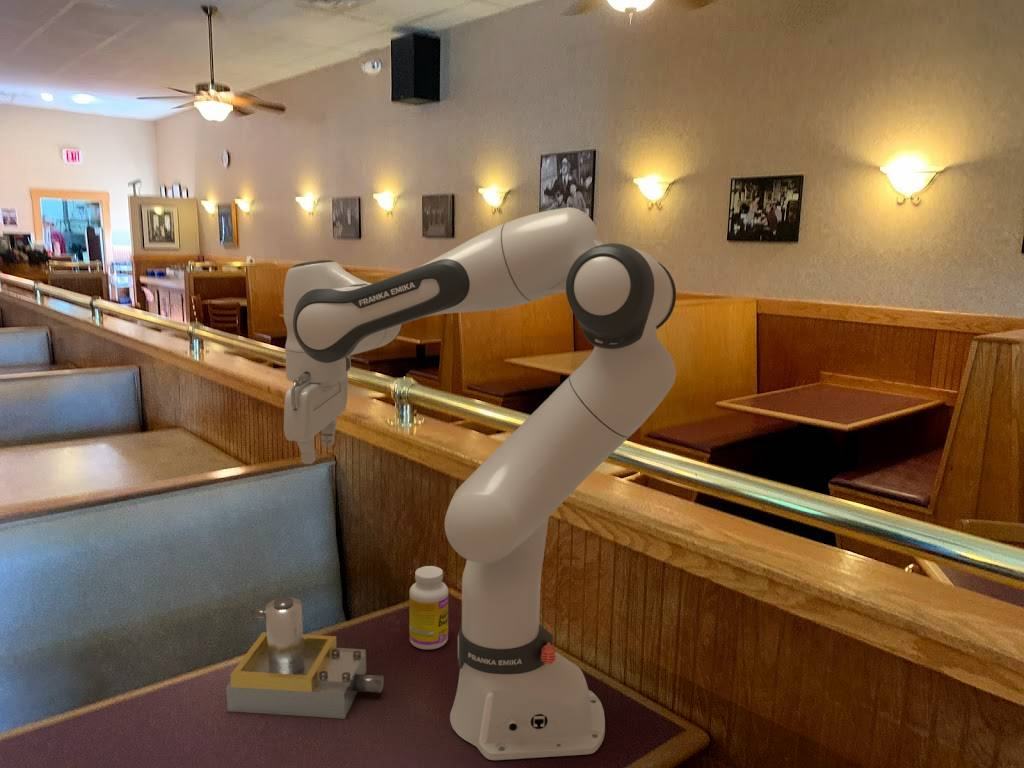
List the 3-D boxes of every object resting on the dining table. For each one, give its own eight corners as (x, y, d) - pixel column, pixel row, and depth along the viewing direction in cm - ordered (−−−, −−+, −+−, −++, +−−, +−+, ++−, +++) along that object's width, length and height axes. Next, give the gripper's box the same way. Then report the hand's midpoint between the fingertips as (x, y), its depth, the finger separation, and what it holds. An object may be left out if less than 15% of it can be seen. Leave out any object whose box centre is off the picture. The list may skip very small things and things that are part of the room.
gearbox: (390, 673, 124) (390, 639, 123) (371, 720, 112) (371, 683, 111) (259, 665, 125) (258, 631, 124) (227, 711, 114) (225, 674, 112)
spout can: (308, 657, 121) (306, 594, 119) (297, 676, 116) (294, 610, 113) (262, 655, 121) (259, 592, 119) (249, 674, 116) (245, 608, 114)
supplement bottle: (441, 653, 130) (441, 582, 127) (404, 648, 131) (403, 578, 129) (452, 633, 136) (453, 565, 134) (416, 629, 138) (416, 561, 135)
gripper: (314, 380, 109) (317, 475, 111) (353, 356, 129) (355, 437, 131) (270, 379, 109) (274, 473, 112) (316, 355, 129) (319, 435, 132)
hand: (318, 453), depth 122 cm, fingers open, 8 cm apart
